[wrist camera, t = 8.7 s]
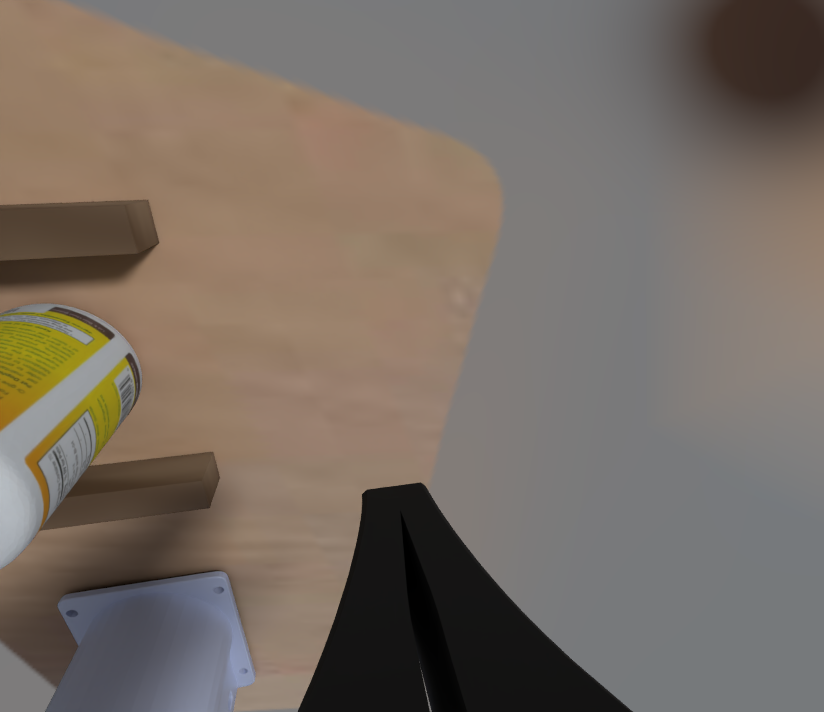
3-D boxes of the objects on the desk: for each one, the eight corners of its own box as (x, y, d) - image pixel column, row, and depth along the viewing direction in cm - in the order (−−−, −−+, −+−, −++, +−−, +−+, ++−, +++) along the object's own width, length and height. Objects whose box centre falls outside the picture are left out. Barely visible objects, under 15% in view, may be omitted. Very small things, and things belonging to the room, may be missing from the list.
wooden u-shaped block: (219, 477, 21) (209, 507, 19) (-43, 510, 19) (-81, 546, 17) (147, 199, 16) (124, 205, 14) (-222, 213, 14) (-302, 221, 12)
